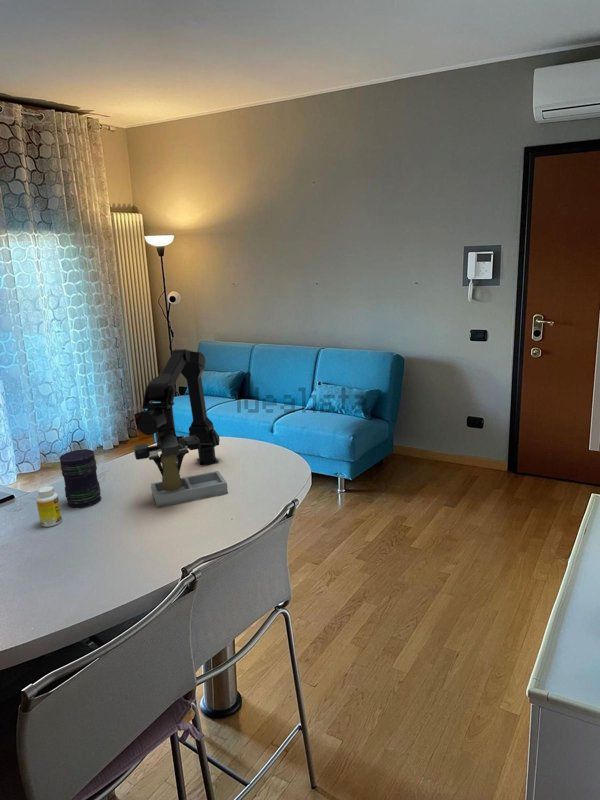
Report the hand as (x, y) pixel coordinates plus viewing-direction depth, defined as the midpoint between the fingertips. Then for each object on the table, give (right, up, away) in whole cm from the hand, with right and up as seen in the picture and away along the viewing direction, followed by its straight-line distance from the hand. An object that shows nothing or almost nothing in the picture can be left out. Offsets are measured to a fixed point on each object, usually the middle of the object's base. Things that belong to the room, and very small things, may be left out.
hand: (170, 474), depth 173 cm
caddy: (+5, -6, +3) cm, 9 cm away
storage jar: (-26, -9, +2) cm, 28 cm away
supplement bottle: (-31, -12, -11) cm, 35 cm away
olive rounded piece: (0, -4, +1) cm, 4 cm away
